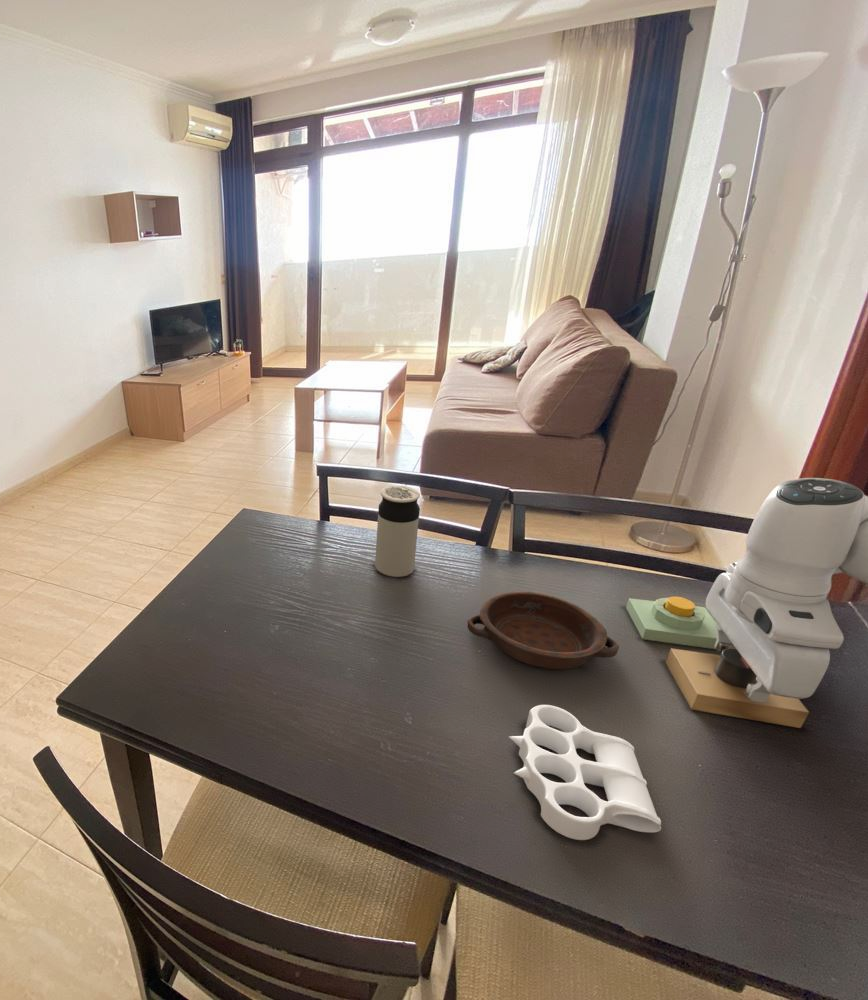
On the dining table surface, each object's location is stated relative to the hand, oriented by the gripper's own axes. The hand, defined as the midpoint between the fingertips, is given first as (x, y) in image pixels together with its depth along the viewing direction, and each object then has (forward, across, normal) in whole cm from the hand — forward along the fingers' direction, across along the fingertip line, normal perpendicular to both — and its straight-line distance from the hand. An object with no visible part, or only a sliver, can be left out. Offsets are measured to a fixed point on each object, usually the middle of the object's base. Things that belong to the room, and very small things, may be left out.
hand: (737, 674), depth 78 cm
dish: (+4, -5, -24) cm, 25 cm away
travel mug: (+4, -24, -48) cm, 54 cm away
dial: (+1, 0, 0) cm, 1 cm away
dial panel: (+4, 0, 0) cm, 4 cm away
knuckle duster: (+4, +22, -24) cm, 33 cm away
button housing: (+4, -15, -2) cm, 16 cm away
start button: (0, -15, -2) cm, 15 cm away
